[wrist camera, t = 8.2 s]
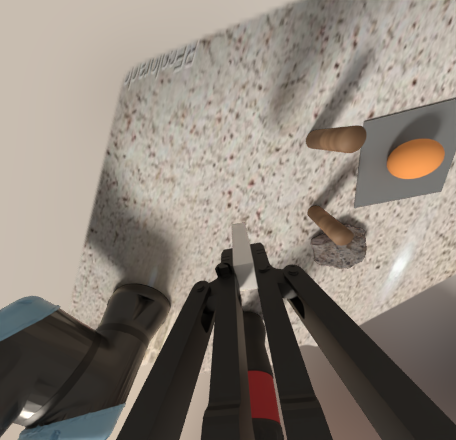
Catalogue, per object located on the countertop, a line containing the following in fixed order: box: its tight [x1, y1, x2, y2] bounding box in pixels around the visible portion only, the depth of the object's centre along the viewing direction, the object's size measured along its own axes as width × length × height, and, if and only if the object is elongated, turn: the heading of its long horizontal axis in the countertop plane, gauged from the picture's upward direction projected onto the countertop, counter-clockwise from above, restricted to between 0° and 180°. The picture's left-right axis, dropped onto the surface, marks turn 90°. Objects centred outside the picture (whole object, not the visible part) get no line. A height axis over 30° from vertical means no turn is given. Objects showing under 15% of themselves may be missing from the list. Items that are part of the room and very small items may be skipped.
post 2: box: [308, 205, 354, 246], centre depth 27 cm, size 3×3×9 cm
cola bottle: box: [243, 312, 284, 440], centre depth 32 cm, size 8×8×30 cm
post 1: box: [306, 126, 367, 153], centre depth 21 cm, size 3×3×9 cm
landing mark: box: [354, 99, 456, 208], centre depth 26 cm, size 14×14×1 cm
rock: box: [311, 224, 367, 269], centre depth 32 cm, size 9×11×4 cm
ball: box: [387, 139, 445, 179], centre depth 24 cm, size 6×6×6 cm
